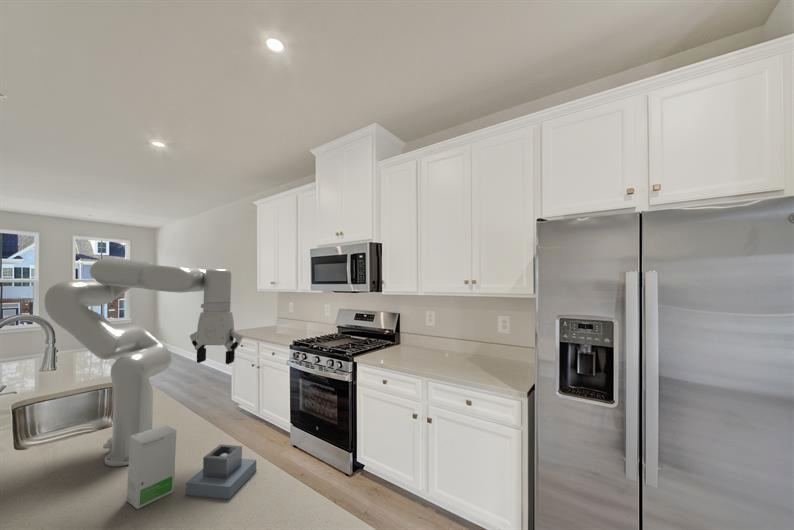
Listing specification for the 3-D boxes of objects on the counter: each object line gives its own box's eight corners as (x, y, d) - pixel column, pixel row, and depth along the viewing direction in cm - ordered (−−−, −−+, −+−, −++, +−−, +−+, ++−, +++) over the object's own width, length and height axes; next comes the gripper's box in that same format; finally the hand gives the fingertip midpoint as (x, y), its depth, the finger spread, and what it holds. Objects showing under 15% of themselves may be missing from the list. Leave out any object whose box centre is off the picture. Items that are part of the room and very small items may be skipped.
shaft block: (185, 494, 82) (186, 464, 82) (217, 467, 94) (218, 441, 94) (229, 499, 80) (230, 468, 80) (256, 470, 92) (256, 444, 92)
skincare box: (136, 510, 76) (138, 443, 77) (124, 500, 79) (127, 436, 80) (175, 491, 83) (177, 429, 84) (163, 482, 87) (165, 423, 87)
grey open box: (202, 476, 84) (203, 457, 84) (219, 462, 91) (220, 444, 91) (226, 479, 83) (226, 459, 84) (241, 464, 90) (242, 446, 90)
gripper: (182, 308, 99) (181, 364, 99) (235, 309, 97) (233, 367, 96) (200, 306, 107) (199, 358, 106) (249, 307, 105) (248, 360, 104)
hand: (215, 362), depth 101 cm, fingers open, 9 cm apart
